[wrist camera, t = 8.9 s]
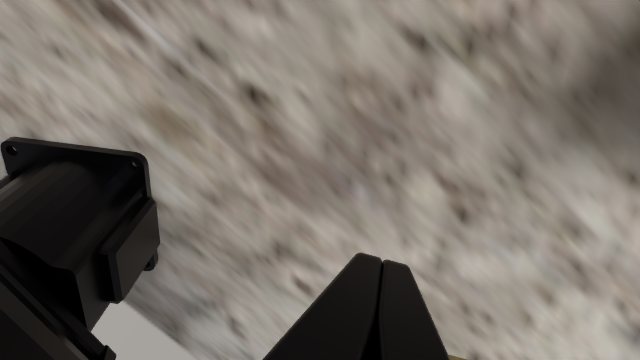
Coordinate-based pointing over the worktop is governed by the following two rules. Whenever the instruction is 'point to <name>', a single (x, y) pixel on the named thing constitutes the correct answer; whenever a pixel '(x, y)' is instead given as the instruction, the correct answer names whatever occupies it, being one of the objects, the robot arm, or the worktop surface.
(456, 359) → the olive tapered cylinder
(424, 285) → the worktop surface
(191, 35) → the worktop surface
